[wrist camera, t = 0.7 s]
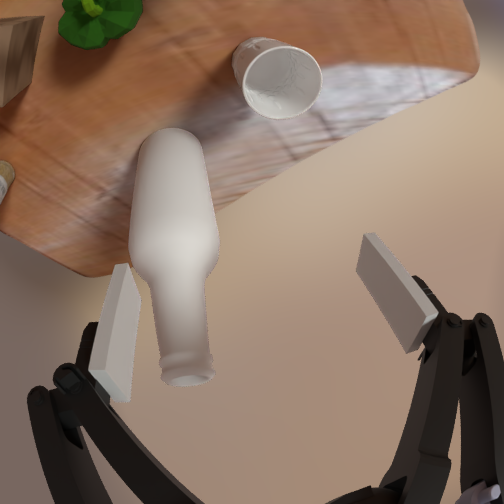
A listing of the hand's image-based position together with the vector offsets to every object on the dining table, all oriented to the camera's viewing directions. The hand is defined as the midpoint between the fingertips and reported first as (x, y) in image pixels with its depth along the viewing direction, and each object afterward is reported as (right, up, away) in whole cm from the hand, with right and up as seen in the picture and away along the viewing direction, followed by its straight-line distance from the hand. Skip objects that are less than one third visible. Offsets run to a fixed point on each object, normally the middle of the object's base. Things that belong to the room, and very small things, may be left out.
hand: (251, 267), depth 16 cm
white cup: (+1, +24, +14) cm, 28 cm away
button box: (-29, +25, +2) cm, 38 cm away
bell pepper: (-15, +28, +4) cm, 32 cm away
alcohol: (-11, +15, +22) cm, 29 cm away
